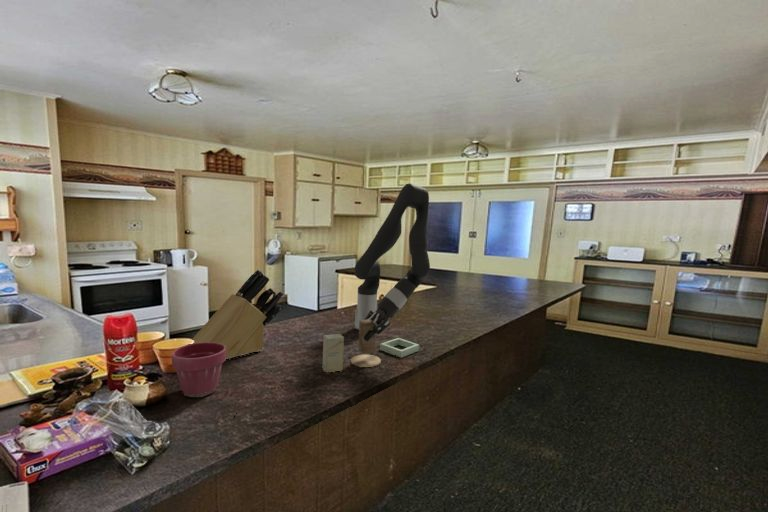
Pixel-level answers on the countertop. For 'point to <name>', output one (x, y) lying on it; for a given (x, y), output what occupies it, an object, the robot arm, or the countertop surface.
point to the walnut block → (363, 329)
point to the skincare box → (333, 352)
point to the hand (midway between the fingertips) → (362, 337)
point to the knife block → (242, 318)
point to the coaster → (366, 360)
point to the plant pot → (199, 366)
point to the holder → (391, 349)
